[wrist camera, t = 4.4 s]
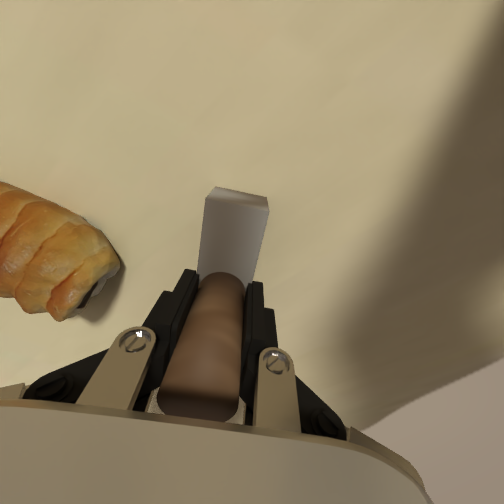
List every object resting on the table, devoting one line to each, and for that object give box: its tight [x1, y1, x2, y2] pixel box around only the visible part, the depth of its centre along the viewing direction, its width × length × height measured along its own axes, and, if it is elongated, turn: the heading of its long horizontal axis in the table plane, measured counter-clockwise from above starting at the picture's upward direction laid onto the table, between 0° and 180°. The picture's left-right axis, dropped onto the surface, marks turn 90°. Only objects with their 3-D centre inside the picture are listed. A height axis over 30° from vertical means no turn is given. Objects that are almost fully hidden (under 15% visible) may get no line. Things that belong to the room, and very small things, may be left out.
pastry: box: [0, 182, 120, 322], centre depth 13 cm, size 9×7×4 cm
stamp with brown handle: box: [157, 187, 269, 422], centre depth 11 cm, size 3×10×9 cm, turn 168°
